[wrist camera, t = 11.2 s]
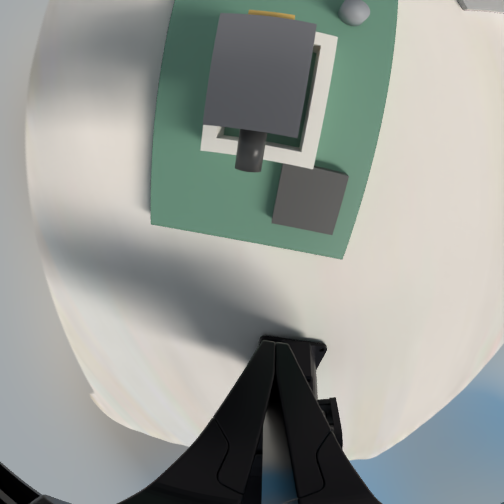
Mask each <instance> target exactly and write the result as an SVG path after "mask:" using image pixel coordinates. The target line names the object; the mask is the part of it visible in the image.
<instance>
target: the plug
mask: <svg viewBox="0 0 504 504" xmlns="http://www.w3.org/2000/svg"><path fill="white" fill-rule="evenodd" d="M316 27H317V24H314V23H309V22H304V21H299V20H295V15H291V14H284V13H277V12H269V11H259V10H249V12H248V14H233V13H220V17H219V22H218V27H217V33H216V38H215V44H214V49H213V55H212V61H211V67H210V74H209V80H208V87H207V94H206V102H205V109H204V117H203V125H210V126H220V127H229V128H237V129H240V132H239V139H238V146H237V153H236V161H235V169H237V170H240V171H245V172H261V169H262V163H263V156H264V150H265V144H266V138H267V133H271V134H277V135H283V136H288V137H293V138H298V133H299V128H300V122H301V117H302V111H303V106H304V100H305V94H306V88H307V83H308V77H309V71H310V65H311V59H312V52H313V46H314V40H315V33H316Z"/></svg>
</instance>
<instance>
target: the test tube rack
mask: <svg viewBox="0 0 504 504" xmlns="http://www.w3.org/2000/svg"><path fill="white" fill-rule="evenodd" d="M458 2H459V4H460V5H461V7H462V9H463V10H464V11H483V12H494V13H503V14H504V0H458Z"/></svg>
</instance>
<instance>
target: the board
mask: <svg viewBox="0 0 504 504" xmlns="http://www.w3.org/2000/svg"><path fill="white" fill-rule="evenodd" d="M397 9H398V0H175V2H174V6H173V10H172V14H171V18H170V23H169V27H168V32H167V37H166V42H165V48H164V53H163V59H162V65H161V72H160V78H159V86H158V93H157V102H156V111H155V121H154V133H153V148H152V167H151V224H152V225H158V226H163V227H169V228H175V229H180V230H186V231H192V232H197V233H203V234H208V235H214V236H219V237H225V238H230V239H236V240H241V241H247V242H252V243H258V244H263V245H268V246H274V247H279V248H284V249H290V250H295V251H300V252H306V253H311V254H316V255H321V256H327V257H332V258H337V259H343V256H344V254H345V251H346V248H347V245H348V242H349V239H350V236H351V233H352V230H353V227H354V224H355V221H356V217H357V214H358V211H359V208H360V204H361V201H362V198H363V194H364V191H365V187H366V184H367V180H368V176H369V173H370V169H371V165H372V161H373V157H374V153H375V149H376V145H377V141H378V136H379V132H380V127H381V123H382V118H383V113H384V108H385V103H386V97H387V92H388V86H389V80H390V73H391V67H392V60H393V52H394V44H395V34H396V23H397ZM249 10H259V11H269V12H277V13H284V14H291V15H295V20H299V21H304V22H309V23H314V24H317V27H316V33H315V40H314V46H313V52H312V59H311V65H310V71H309V77H308V83H307V88H306V94H305V100H304V106H303V111H302V117H301V122H300V128H299V133H298V138H293V137H288V136H283V135H277V134H271V133H267V138H266V144H265V150H264V156H263V163H262V169H261V172H245V171H240V170H237V169H235V161H236V153H237V146H238V139H239V132H240V129H237V128H229V127H220V126H210V125H203V117H204V109H205V102H206V94H207V87H208V80H209V74H210V67H211V61H212V55H213V49H214V44H215V38H216V33H217V27H218V22H219V17H220V13H233V14H248V12H249Z"/></svg>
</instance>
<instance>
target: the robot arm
mask: <svg viewBox="0 0 504 504" xmlns="http://www.w3.org/2000/svg"><path fill="white" fill-rule="evenodd" d="M321 348H322V349H321ZM326 351H327V346H326V345H325V344H322V343H314V342H306V341H299V340H292V339H285V338H279V337H272V336H262V337H261V338H260V342H259V346H258V348H257V350H256V352H255V353H254V355H253V357H252V358H251V360H250V361H249V363H248V365H247V366H246V368H245V369H244V371H243V372H242V374H241V376H240V377H239V379H238V380H237V382H236V383H235V385H234V386H233V388H232V389H231V391H230V392H229V394H228V395H227V397H226V399H225V400H224V402H223V403H222V404H221V406H220V407H219V409H218V410H217V412H216V413H215V415H214V416H213V418H212V419H211V420H210V422H209V423H208V425H207V426H206V428H205V429H204V430H203V431H202V433H201V434H200V435H199V437H198V438H197V439H196V440H195V442H194V443H193V444H192V445H191V446H190V447H189V448H188V449H187V450H186V451H185V452H184V453H183V454H182V455H181V456H180V457H179V458H178V459H177V460H176V461H175V462H174V463H173V464H172V465H171V466H170V467H169V468H168V469H167V470H166V471H165V472H164V473H162V474H161V475H160V476H159V477H158V478H157V479H156V480H155V481H153V482H152V483H151V484H150V485H148V486H147V487H146V488H144V489H143V490H141V491H139V492H138V493H136V494H134V495H133V496H131V497H129V498H127V499H125V500H123V501H121V502H120V503H117V504H382V503H381V502H379V501H378V500H377V499H376V498H375V497H374V495H373V494H372V493H371V491H370V490H369V489H368V487H367V486H366V484H365V483H364V482H363V480H362V479H361V478H360V476H359V475H358V473H357V472H356V470H355V469H354V468H353V466H352V465H351V463H350V462H349V460H348V458H347V457H346V455H345V454H344V452H343V450H342V445H343V440H342V429H341V423H340V418H339V412H338V407H337V402H336V397H334V398H329V399H320V400H318V396H317V377H316V369H317V368H318V366H319V364H320V362H321V360H322V358H323V357H324V355H325V353H326ZM0 504H71V503H68V502H65V501H62V500H59V499H56V498H54V497H51V496H48V495H42V494H40V493H39V492H37V491H36V490H35V489H33V488H32V487H31V486H29V485H28V484H26V483H25V482H24V481H23V480H21V479H20V478H19V477H18V476H16V475H15V474H14V473H13V472H12V471H10V470H9V469H8V468H7V467H6V466H5V465H3V464H2V463H1V462H0ZM501 504H504V502H503V503H501Z"/></svg>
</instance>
